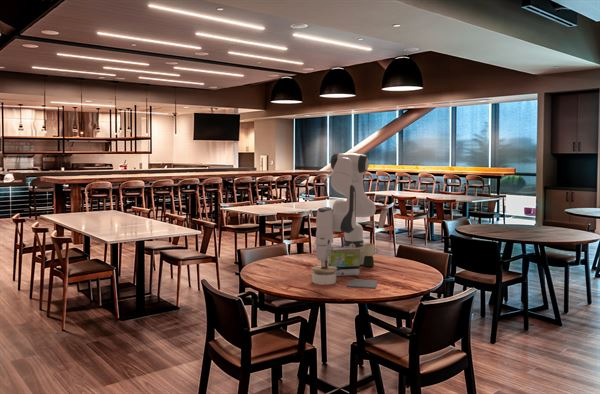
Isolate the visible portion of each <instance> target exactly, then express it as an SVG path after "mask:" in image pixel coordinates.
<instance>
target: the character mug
mask: <svg viewBox="0 0 600 394" xmlns="http://www.w3.org/2000/svg"><path fill="white" fill-rule="evenodd" d="M361 249H363V251H361ZM360 253H363V255H364V256H365V257H364V263H363V264H362V265H363V266H365V267H373V266H375V261H374V256H375V255H376V254H378V253H379V247H376V244H374V243H364V244H363V247H360Z"/></svg>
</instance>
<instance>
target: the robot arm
mask: <svg viewBox="0 0 600 394" xmlns="http://www.w3.org/2000/svg"><path fill="white" fill-rule="evenodd" d="M369 166H370V161H369V156H367V155H366V154H363V153H354V152H346V153H344V152H335V153H333V154H332V155H331V157H330V168H331V169H332V175H331V178H330V185H331V188H332V189H333V190H334V191H335V192H336V193H338V194H339V195H340V194H341V195H342V196H345V197H346V198H342V199H337V200H335V201H334V202H333V204H332V208H331V207H328V206H325V207H320V208H318V209H317V211H316V219H315V225H316V231H315V242H314V244H315V250H316V251H315V253H316V259H317V261H320V262H321V263H322V267H325V264H326V263H325V260H328V261H329V255H330V254H331V247H332V244H333V243H334V232H338V233H339V232H341V233H344V240H343V247H346V246H354V247H356V248H358V249H360V247H363V244H365V241H364V228H363V226H362V225H361V224H360V223H358V222H357V218H370V217H373V216H374V215H375V214H376V209H377V207H376V204H375V202H374V201H373V200H372V199H370V198H369V197H368V195H367V194H366V192H365V189H364V173H365V172H367V171H368V168H369ZM361 251H363V249H361ZM364 257H365V256H364V255H363V253H360V265H363V263H364Z"/></svg>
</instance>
